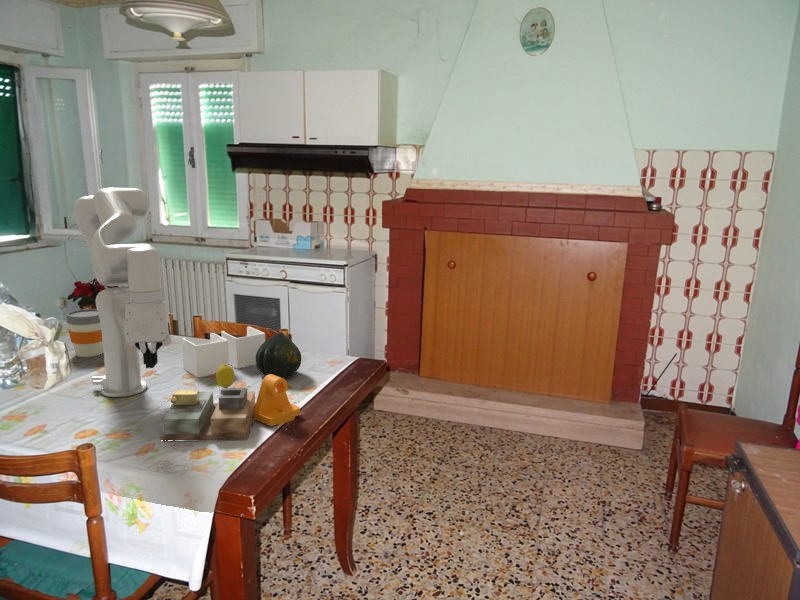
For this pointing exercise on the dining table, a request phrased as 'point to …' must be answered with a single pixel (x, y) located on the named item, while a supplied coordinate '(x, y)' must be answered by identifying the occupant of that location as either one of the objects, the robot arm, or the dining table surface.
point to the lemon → (225, 376)
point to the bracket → (274, 402)
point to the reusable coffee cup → (85, 332)
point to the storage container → (221, 352)
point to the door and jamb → (212, 417)
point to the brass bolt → (185, 397)
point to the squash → (278, 356)
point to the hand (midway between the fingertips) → (151, 366)
